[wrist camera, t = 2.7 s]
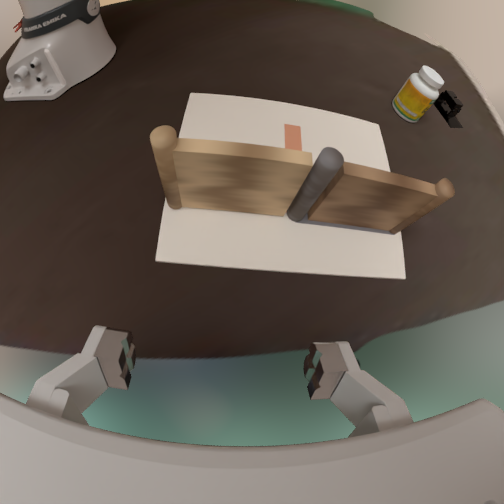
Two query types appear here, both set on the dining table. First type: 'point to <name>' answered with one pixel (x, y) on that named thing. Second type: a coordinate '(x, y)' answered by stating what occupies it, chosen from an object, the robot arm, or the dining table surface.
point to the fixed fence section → (364, 195)
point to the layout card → (281, 227)
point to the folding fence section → (228, 173)
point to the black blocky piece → (449, 112)
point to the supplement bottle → (417, 94)
